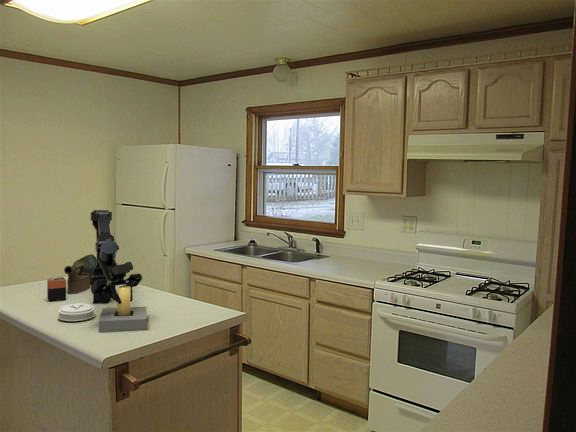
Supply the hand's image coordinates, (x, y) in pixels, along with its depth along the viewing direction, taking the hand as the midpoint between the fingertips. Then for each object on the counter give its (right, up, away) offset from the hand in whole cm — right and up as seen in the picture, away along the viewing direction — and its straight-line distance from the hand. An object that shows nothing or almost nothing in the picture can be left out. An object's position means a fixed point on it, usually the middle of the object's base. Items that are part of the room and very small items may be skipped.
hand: (126, 302), depth 179 cm
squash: (-40, -1, +61) cm, 73 cm away
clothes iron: (-38, -3, +45) cm, 59 cm away
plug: (-1, -6, +1) cm, 7 cm away
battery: (-39, -4, +29) cm, 49 cm away
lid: (-21, -8, +7) cm, 23 cm away
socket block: (-1, -8, +2) cm, 9 cm away
